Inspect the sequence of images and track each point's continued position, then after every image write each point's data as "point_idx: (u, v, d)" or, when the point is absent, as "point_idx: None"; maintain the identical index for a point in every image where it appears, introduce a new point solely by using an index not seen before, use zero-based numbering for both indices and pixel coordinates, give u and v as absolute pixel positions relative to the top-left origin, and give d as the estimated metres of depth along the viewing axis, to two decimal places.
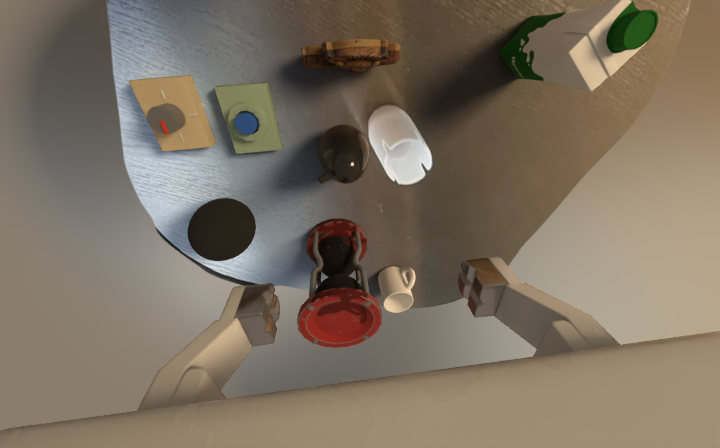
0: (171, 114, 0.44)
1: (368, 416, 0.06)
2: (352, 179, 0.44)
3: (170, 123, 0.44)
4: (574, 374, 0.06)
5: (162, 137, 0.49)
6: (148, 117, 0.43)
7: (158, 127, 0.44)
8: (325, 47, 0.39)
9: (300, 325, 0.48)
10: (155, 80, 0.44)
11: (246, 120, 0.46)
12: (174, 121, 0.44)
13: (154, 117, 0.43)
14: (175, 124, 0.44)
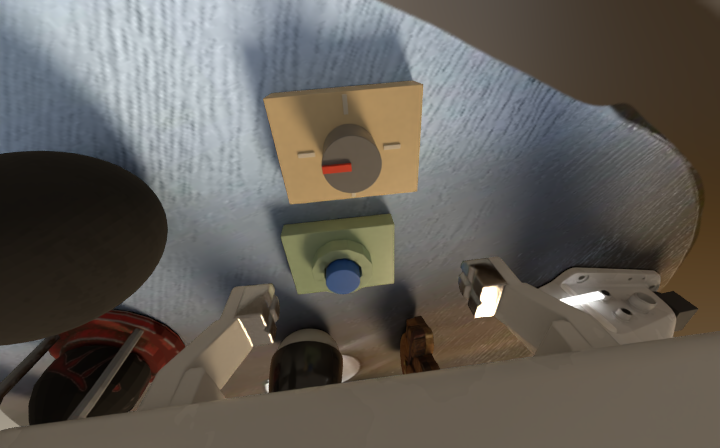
0: (364, 188, 0.20)
1: (368, 416, 0.06)
2: None
3: (346, 181, 0.19)
4: (574, 374, 0.06)
5: (300, 112, 0.20)
6: (359, 139, 0.18)
7: (337, 154, 0.18)
8: None
9: None
10: (417, 142, 0.22)
11: (350, 284, 0.27)
12: (349, 190, 0.20)
13: (359, 153, 0.18)
14: (344, 190, 0.20)
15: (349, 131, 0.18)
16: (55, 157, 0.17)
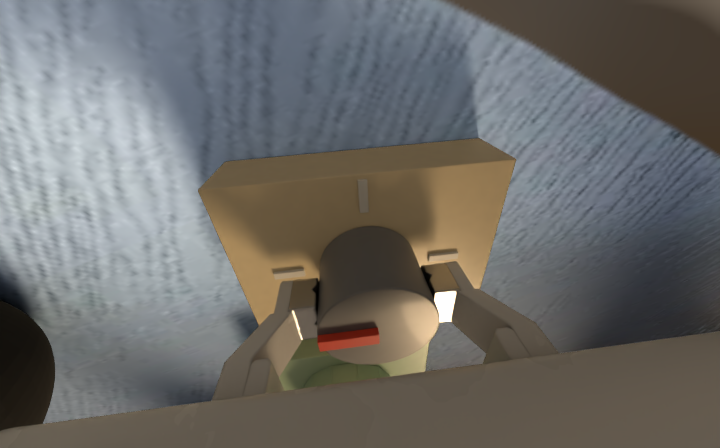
0: None
1: (368, 416, 0.06)
2: None
3: (366, 352, 0.10)
4: (574, 374, 0.06)
5: (276, 210, 0.10)
6: (398, 293, 0.08)
7: (350, 318, 0.09)
8: None
9: None
10: (487, 247, 0.12)
11: None
12: (372, 362, 0.10)
13: (396, 313, 0.09)
14: (361, 362, 0.10)
15: (374, 265, 0.09)
16: None
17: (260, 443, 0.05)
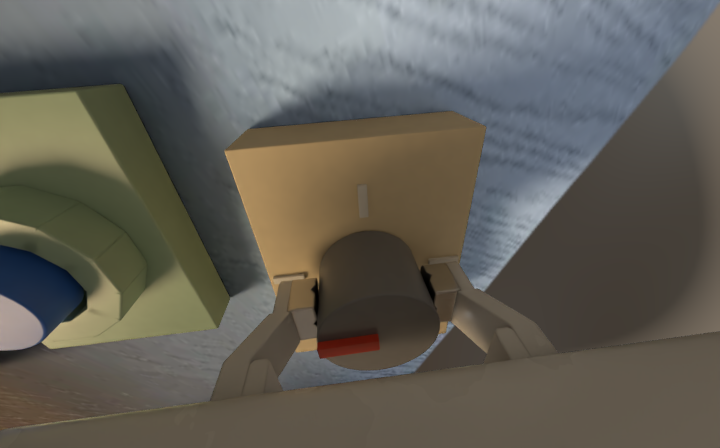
0: (401, 361, 0.10)
1: (368, 416, 0.06)
2: None
3: (366, 358, 0.10)
4: (574, 374, 0.06)
5: (445, 195, 0.10)
6: (398, 299, 0.08)
7: (350, 325, 0.09)
8: None
9: None
10: None
11: None
12: (373, 368, 0.10)
13: (396, 319, 0.09)
14: (362, 368, 0.10)
15: (373, 271, 0.09)
16: None
17: (260, 443, 0.05)
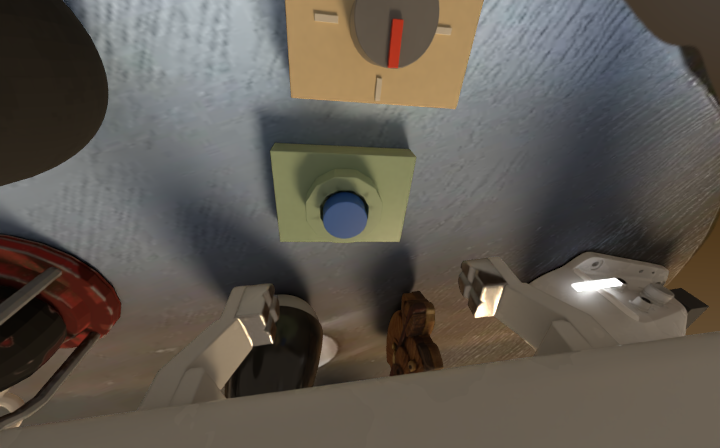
0: (436, 1, 0.13)
1: (368, 416, 0.06)
2: None
3: (417, 33, 0.14)
4: (574, 374, 0.06)
5: None
6: None
7: (377, 39, 0.14)
8: (437, 364, 0.28)
9: None
10: (472, 30, 0.17)
11: (353, 225, 0.21)
12: (432, 29, 0.14)
13: (380, 1, 0.13)
14: (430, 39, 0.14)
15: (352, 15, 0.14)
16: None
17: (260, 443, 0.05)
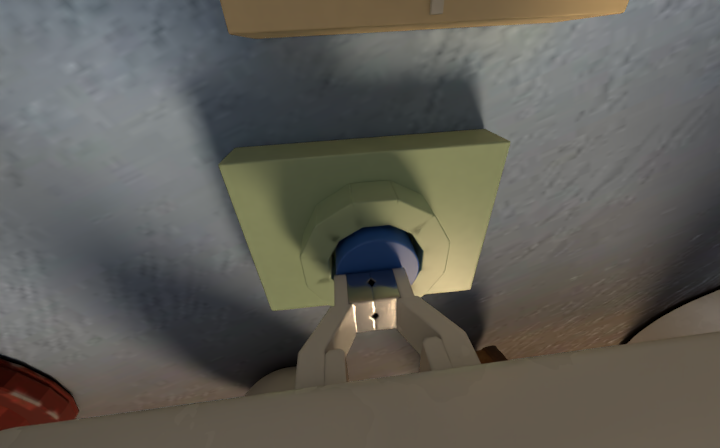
0: None
1: (368, 416, 0.06)
2: None
3: None
4: (574, 374, 0.06)
5: None
6: None
7: None
8: None
9: None
10: None
11: None
12: None
13: None
14: None
15: None
16: None
17: (260, 443, 0.05)
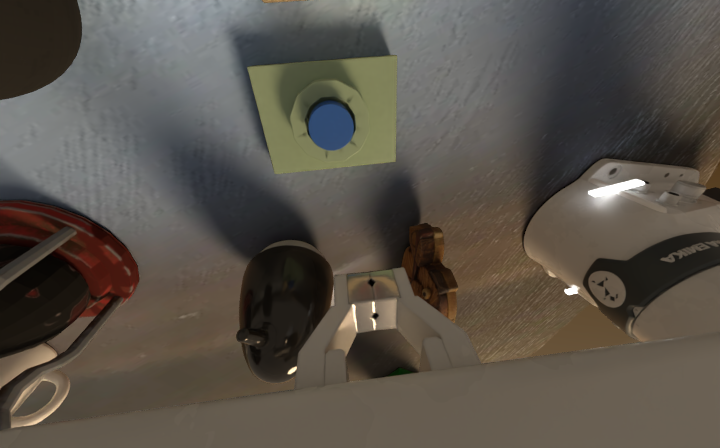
0: None
1: (368, 416, 0.06)
2: (261, 380, 0.22)
3: None
4: (574, 374, 0.06)
5: None
6: None
7: None
8: (451, 284, 0.27)
9: None
10: None
11: (340, 133, 0.21)
12: None
13: None
14: None
15: None
16: None
17: (260, 443, 0.05)
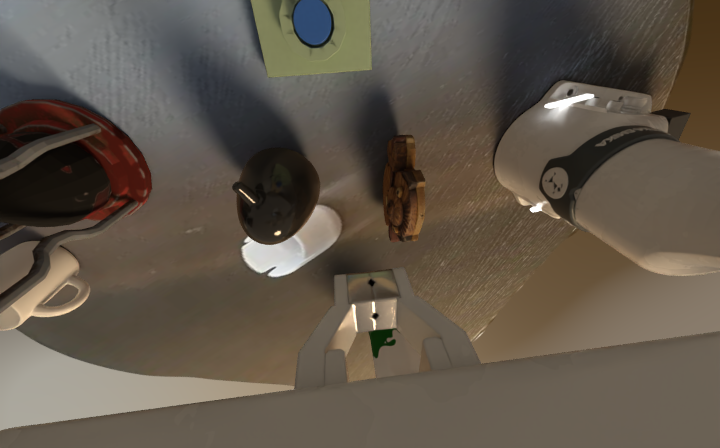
0: None
1: (368, 416, 0.06)
2: (253, 238, 0.27)
3: None
4: (574, 374, 0.06)
5: None
6: None
7: None
8: (419, 179, 0.31)
9: None
10: None
11: (320, 26, 0.25)
12: None
13: None
14: None
15: None
16: None
17: (260, 443, 0.05)
